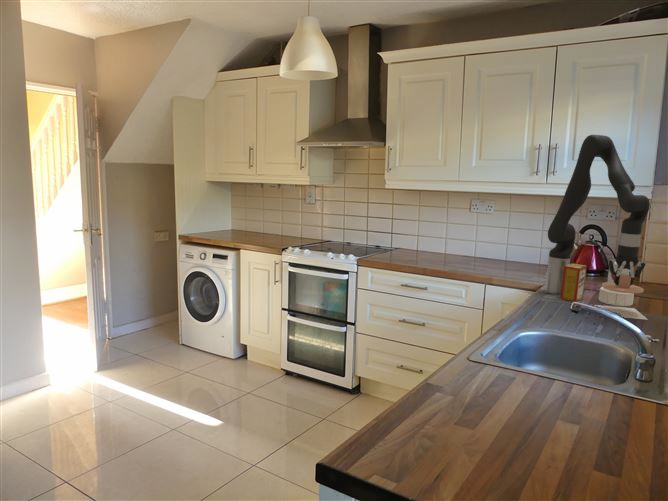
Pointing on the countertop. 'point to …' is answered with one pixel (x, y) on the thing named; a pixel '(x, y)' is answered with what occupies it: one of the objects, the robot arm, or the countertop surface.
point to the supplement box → (611, 276)
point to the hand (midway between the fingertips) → (622, 285)
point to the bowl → (615, 297)
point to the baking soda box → (573, 282)
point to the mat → (625, 312)
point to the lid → (623, 285)
